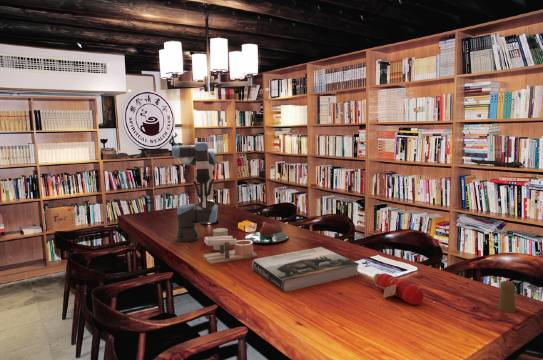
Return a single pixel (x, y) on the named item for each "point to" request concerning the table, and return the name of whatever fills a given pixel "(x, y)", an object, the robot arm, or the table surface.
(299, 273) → the book
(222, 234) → the can
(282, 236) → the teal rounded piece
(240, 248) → the cup
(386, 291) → the red elongated piece
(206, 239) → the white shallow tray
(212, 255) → the stand
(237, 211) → the table surface
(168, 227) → the table surface
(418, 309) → the table surface
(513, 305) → the green chess rook
